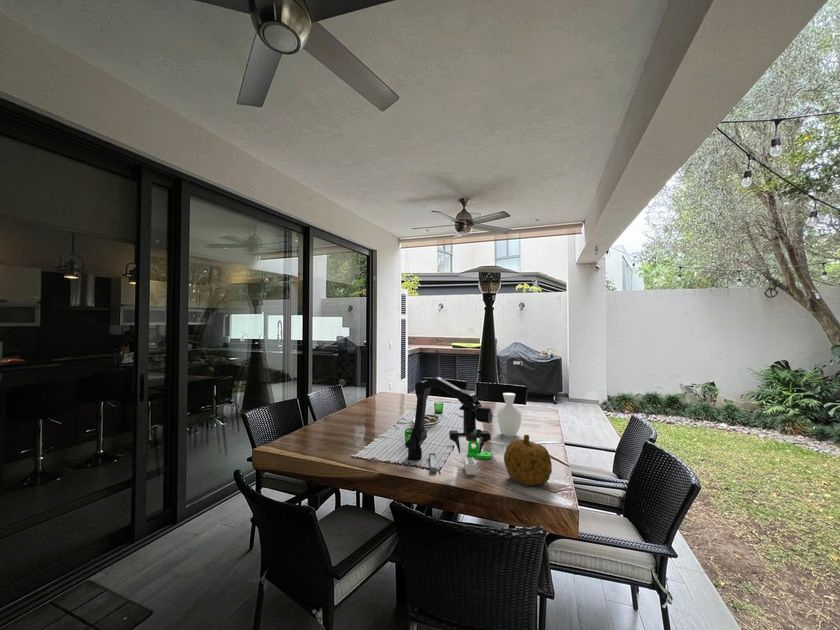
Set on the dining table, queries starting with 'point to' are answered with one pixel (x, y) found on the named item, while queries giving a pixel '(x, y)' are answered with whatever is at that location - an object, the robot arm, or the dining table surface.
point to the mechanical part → (477, 451)
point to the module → (469, 466)
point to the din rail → (432, 463)
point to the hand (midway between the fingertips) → (469, 453)
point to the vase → (509, 416)
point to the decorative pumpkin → (527, 462)
